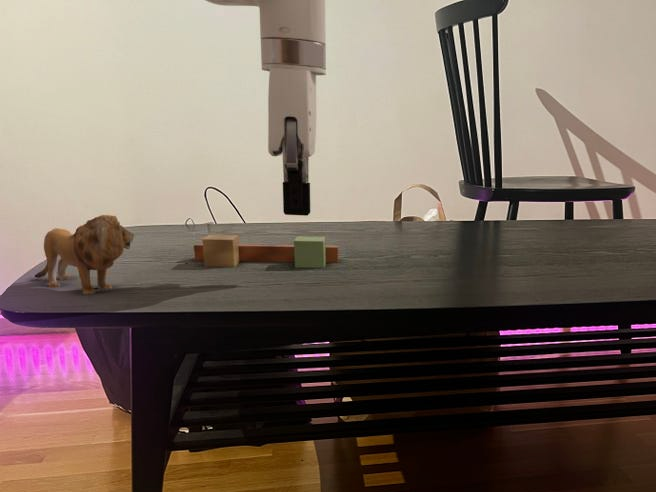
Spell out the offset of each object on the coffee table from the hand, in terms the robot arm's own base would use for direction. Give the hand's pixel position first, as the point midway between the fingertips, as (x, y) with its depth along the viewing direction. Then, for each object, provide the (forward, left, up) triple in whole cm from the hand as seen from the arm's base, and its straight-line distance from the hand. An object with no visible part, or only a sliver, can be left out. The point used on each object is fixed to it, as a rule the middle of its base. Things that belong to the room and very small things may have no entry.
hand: (297, 214), depth 89 cm
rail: (-6, +11, -8) cm, 15 cm away
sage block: (+1, +8, -8) cm, 12 cm away
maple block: (-11, +8, -8) cm, 16 cm away
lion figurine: (-24, -7, -9) cm, 26 cm away
